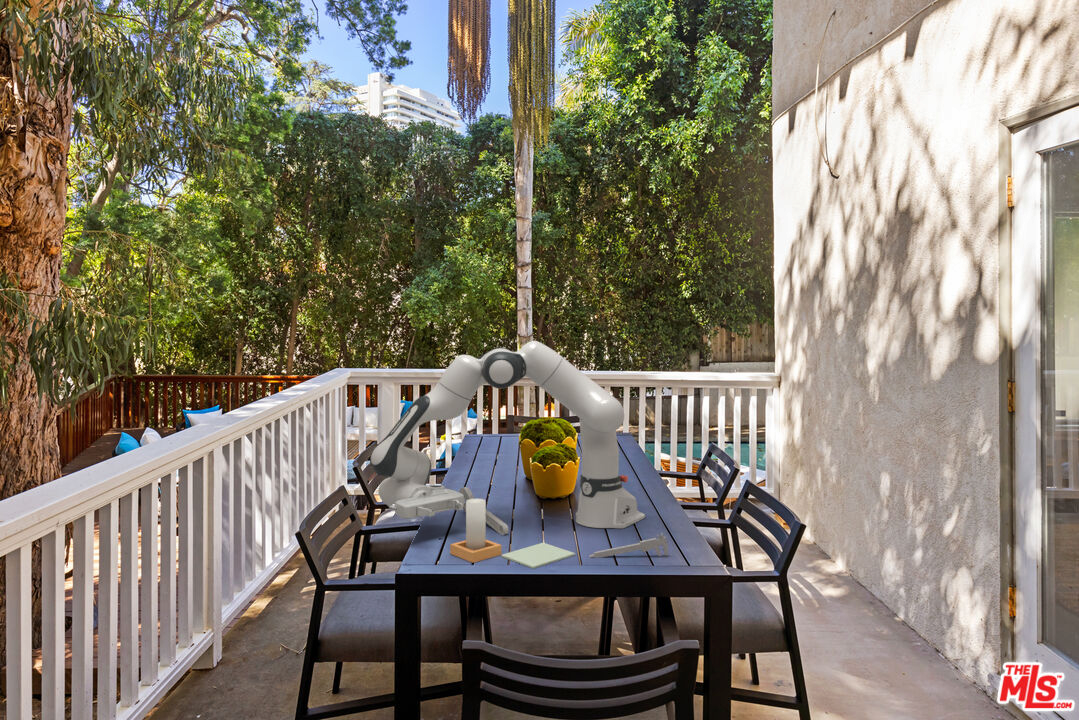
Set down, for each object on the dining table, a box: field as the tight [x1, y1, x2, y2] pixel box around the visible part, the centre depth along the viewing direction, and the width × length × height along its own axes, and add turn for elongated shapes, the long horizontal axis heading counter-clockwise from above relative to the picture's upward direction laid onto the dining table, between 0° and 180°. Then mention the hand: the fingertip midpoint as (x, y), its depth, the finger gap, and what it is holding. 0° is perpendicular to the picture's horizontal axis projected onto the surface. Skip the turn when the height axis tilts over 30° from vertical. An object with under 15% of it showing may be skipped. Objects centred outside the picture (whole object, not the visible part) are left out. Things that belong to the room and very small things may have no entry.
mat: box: [500, 542, 576, 570], centre depth 187 cm, size 15×12×1 cm
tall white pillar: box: [465, 498, 487, 551], centre depth 188 cm, size 5×5×14 cm
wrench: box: [458, 486, 510, 536], centre depth 217 cm, size 8×2×30 cm
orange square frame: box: [449, 538, 502, 564], centre depth 188 cm, size 9×9×2 cm
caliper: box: [588, 532, 669, 559], centre depth 187 cm, size 20×1×6 cm, turn 94°
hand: (446, 510), depth 196 cm, fingers open, 8 cm apart
